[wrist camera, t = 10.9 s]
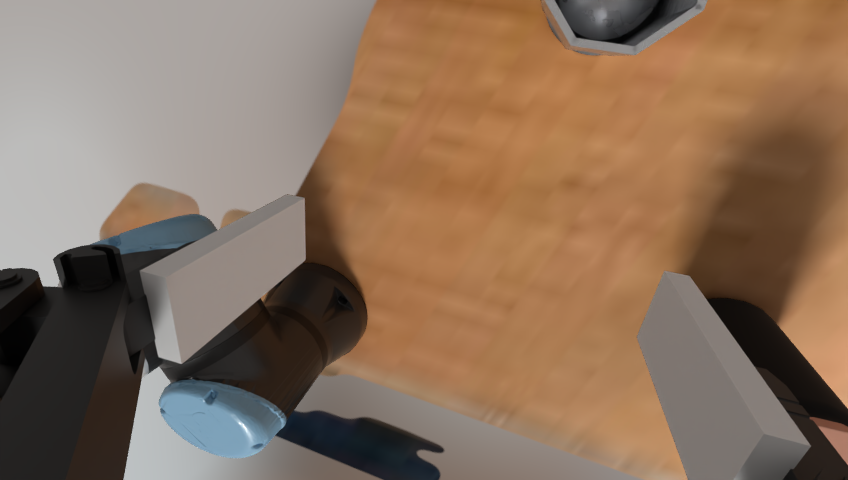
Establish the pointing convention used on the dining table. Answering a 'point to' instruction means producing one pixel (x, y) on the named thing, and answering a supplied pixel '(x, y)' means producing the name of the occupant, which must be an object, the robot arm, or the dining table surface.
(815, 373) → the coffee jar
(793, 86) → the dining table surface
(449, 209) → the dining table surface
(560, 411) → the dining table surface
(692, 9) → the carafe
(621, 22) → the plunger
